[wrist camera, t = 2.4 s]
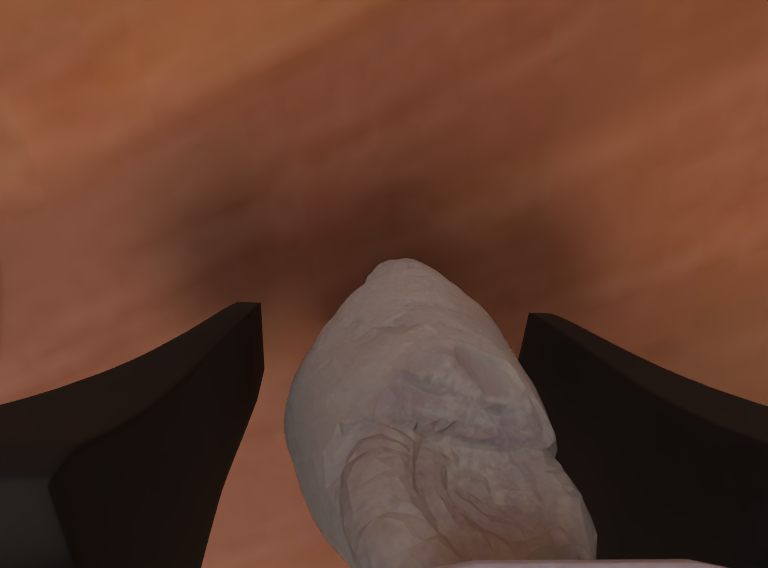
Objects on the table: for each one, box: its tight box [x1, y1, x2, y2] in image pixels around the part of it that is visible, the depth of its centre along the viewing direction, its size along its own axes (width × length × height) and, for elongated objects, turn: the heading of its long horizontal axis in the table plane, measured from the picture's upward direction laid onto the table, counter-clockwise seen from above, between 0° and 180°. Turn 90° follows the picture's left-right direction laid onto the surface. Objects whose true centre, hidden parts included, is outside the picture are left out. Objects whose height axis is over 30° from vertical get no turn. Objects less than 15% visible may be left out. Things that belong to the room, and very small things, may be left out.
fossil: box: [284, 258, 597, 568], centre depth 10 cm, size 6×4×10 cm, turn 102°
